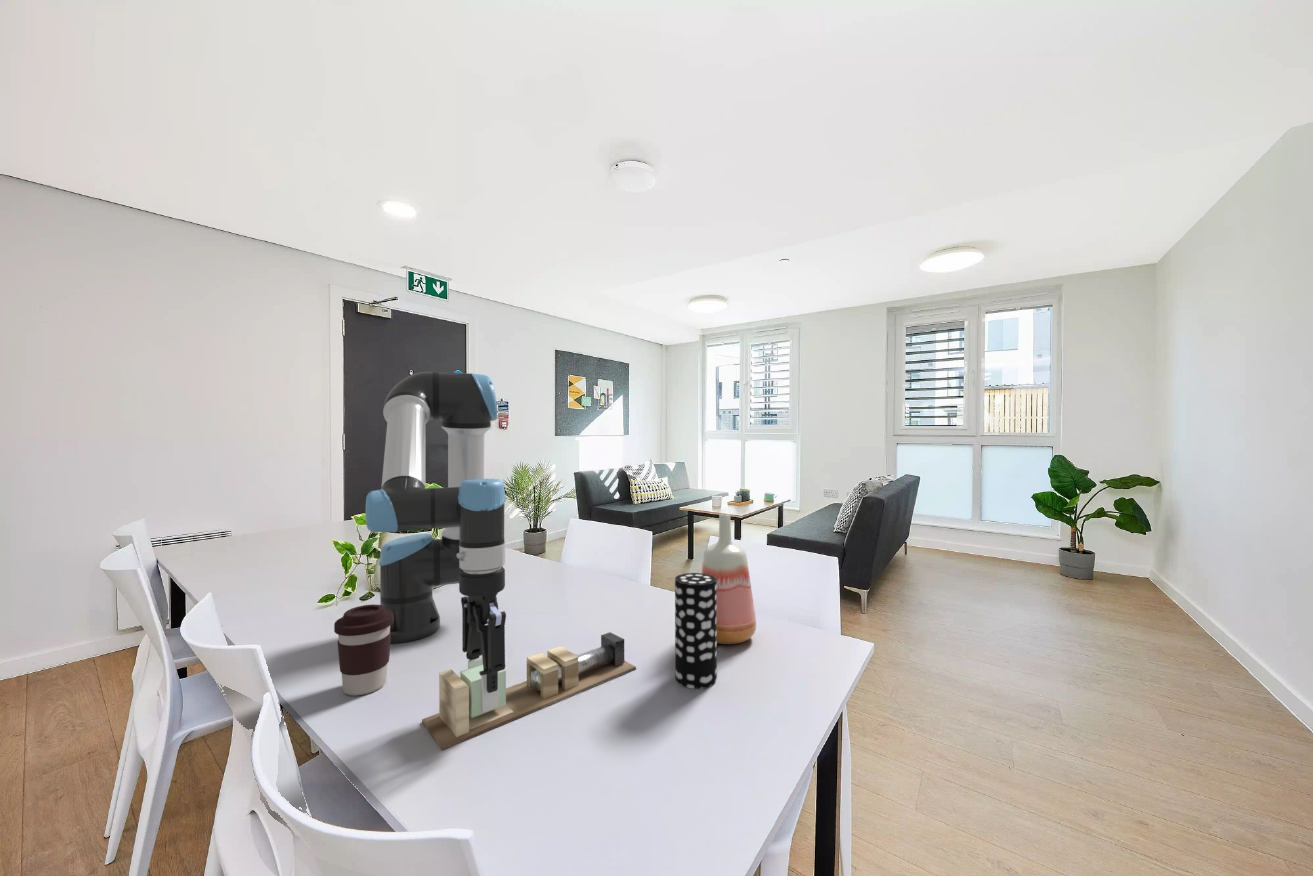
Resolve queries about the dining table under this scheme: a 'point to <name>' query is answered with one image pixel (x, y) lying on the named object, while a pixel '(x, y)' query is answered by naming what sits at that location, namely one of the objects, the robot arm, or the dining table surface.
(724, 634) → the vase
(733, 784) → the dining table surface
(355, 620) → the coffee cup
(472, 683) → the block
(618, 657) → the shaft
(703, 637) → the spotted tube
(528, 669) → the jig
